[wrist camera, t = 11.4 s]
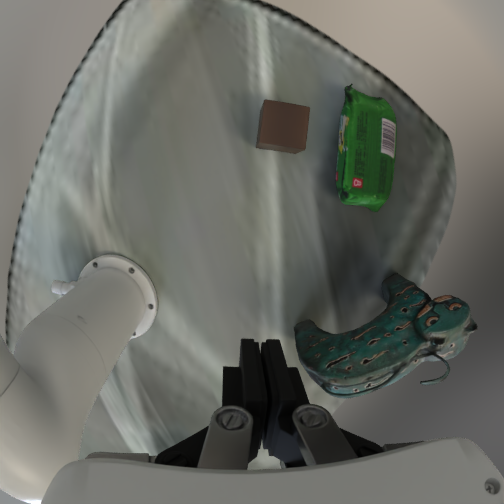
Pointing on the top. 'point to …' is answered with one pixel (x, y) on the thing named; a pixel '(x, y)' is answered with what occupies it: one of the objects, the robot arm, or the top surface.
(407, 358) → the ceramic cat
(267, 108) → the walnut block
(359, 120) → the snack package
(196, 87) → the top surface
